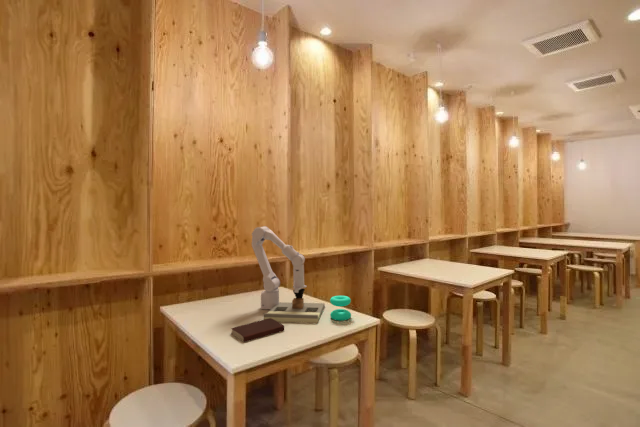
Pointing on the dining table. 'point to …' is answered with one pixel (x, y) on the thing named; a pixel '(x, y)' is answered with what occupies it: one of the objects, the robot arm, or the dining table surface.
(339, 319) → the donuts
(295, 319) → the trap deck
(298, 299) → the block
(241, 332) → the book
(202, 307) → the dining table surface
